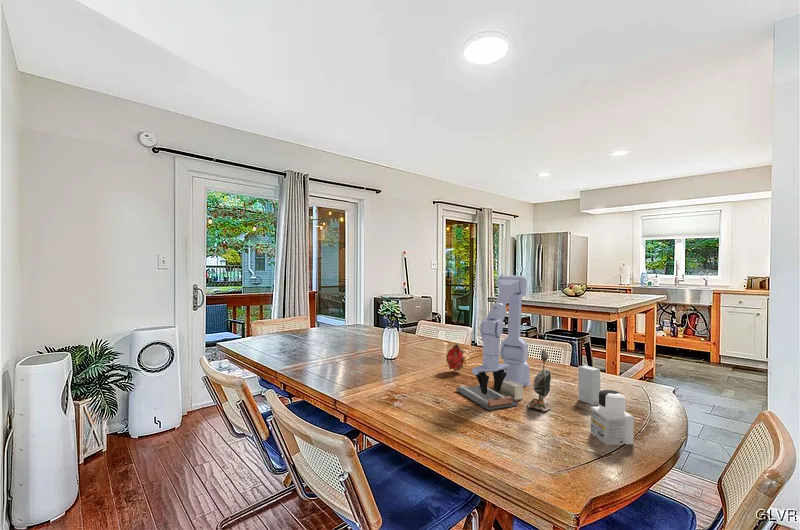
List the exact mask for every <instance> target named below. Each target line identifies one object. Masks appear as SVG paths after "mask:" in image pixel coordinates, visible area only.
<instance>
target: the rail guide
mask: <svg viewBox="0 0 800 530" xmlns="http://www.w3.org/2000/svg"><path fill="white" fill-rule="evenodd" d="M455 391H457V392H458V393H460V394H462V395H463V396H465V397H466V398H467V399H470V401H472V402H474V403H475V404H478V405H479V406H480V407H481V408H483V409H485V410H486V411H492V410H497V409H505V408H510V407H516V406H519V405H518V403H517V402H515V401H514V400H513V398H512V397H510V396H507V397H506V396H503V395H501V393H500V392H496V391H495V390H493V389H491V388H489V387H488V386H487V394H486V395H485V394H483V393H481V388H480V384H479V383H478V385H474V386H473V385H471V386H463V385H461V386H459V387H456V388H455Z"/></svg>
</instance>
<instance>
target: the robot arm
mask: <svg viewBox="0 0 800 530" xmlns="http://www.w3.org/2000/svg"><path fill="white" fill-rule="evenodd" d="M497 289H498V294H497V297H496V300H495V301H496V302H495V303H493V304H491V306H490V309H489V311H488V313H487V316H486V318H485V319H483V320H482V321H481V323H480V326H479V327H480V328H479V331H480V334H481V341H482V364H481V365H479V366H476V367H472V368H471V369H472V370H471V373H472V374H473V375H475V377H476V379H477V381H478V384H480V388H481V393H483V394H485V395H486V394H487V387H488V383H489V379H490V376H489V375H487V373H492V375H493V377H492V378H493V389H494V390H493V391H495V392H497V393H501V385H502V383H503V381H504V380H512V381H514V382H517V383H520V384H522V385H523V387H526V386H531V385H532V384H531V381H530V376H531V375H530V374H531V372H530V371H531V369H530V365H529V363H528V362H527V361H528V357H529V350H528V343H527V342H526V341H525V340H524V339H523V338H522V337H521V331H522V330H521V323H522V322H521V321H522V302H523V301H522V300H523V297H526V295H527V278H526V277H525V275H510V274H509V275H507V274H506V275H505V274H500V275H499V276H498V279H497ZM507 304H508V310H507V308H506V306H507ZM507 312H508V322H507V324H508V325H507V337H506V338H505V339H503V340H502V341H500V340H501V336H502V335H503V329H504V328H503V327H504V320H505V317H506V315H507ZM500 358H501V360H502V362H504V363H500Z"/></svg>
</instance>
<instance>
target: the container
mask: <svg viewBox="0 0 800 530" xmlns="http://www.w3.org/2000/svg"><path fill="white" fill-rule="evenodd" d="M626 403H627V402H626V396H625V394H624V393H622V392H620V391H617V390H612V389H604V390H601V391H600V392H599V404H598V406H591V407H590V434H591V435H593V436H594V437H595V436H596V437H595V438H596V439H598V440H599V441H600V442H602V443H603V444H605V445H606V446H624V444H626V445H634V431H635V430H634V423H635V422H634V421H635V418H634V416H633V415H631V414H630V413H628V412H626V405H627V404H626ZM622 444H623V445H622Z"/></svg>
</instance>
